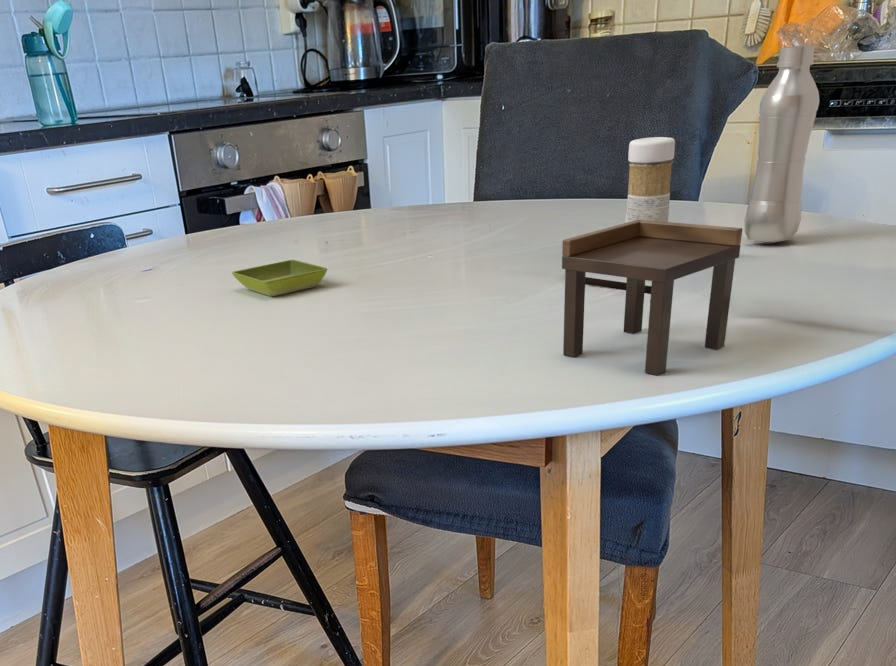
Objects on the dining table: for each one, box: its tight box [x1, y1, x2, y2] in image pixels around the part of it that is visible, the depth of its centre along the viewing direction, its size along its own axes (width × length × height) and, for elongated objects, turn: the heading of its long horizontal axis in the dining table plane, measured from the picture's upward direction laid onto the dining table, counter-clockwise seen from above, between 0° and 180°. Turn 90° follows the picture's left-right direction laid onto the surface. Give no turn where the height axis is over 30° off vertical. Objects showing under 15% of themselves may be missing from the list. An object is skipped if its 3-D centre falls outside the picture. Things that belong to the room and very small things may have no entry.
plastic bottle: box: [744, 44, 820, 245], centre depth 101 cm, size 6×7×20 cm
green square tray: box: [231, 259, 328, 297], centre depth 104 cm, size 9×9×2 cm
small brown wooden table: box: [561, 220, 743, 376], centre depth 72 cm, size 10×10×9 cm
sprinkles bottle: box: [625, 136, 676, 223], centre depth 92 cm, size 5×5×13 cm
